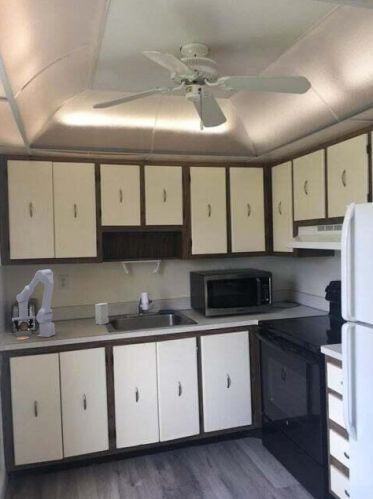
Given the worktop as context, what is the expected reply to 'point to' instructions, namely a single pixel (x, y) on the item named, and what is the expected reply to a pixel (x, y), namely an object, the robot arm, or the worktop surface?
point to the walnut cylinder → (24, 327)
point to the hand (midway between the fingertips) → (24, 330)
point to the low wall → (23, 333)
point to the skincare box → (101, 313)
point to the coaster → (22, 337)
